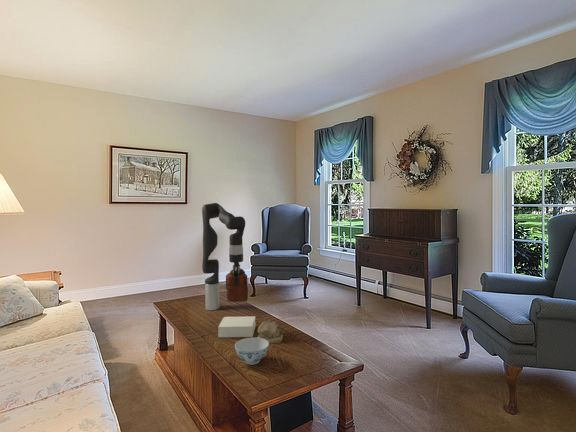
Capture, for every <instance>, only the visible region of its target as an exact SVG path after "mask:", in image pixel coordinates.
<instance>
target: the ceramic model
mask: <svg viewBox="0 0 576 432" xmlns="http://www.w3.org/2000/svg"><path fill="white" fill-rule="evenodd" d="M280 332H281V331H280V326H279V324H278V323H276V322H275V321H271V319H267V320H263V321H262V322H261V323H260V325H259V326H258V327H257V333H258V334H257V337H256V338H263V339H265V340H267V341H268V342H269V344H278V343H281V342H282V341H283V337H284V335H283V334H282V333H281V334H280Z"/></svg>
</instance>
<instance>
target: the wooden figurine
mask: <svg viewBox="0 0 576 432" xmlns="http://www.w3.org/2000/svg"><path fill="white" fill-rule="evenodd" d="M238 271H239V268H238ZM235 275H237V274H235ZM238 280H239V284H238V285H234V274H233V268H232V269H230V271H229V273H227V274H226V275H225V289H226V301H227V302H228V303H236V302H237V303H239V302H248V298H249V297H248V296H249V288H248V275H247V273H246V271H245V270H244V269H243V268H241V267H240V273H239V278H238Z"/></svg>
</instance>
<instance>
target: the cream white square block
mask: <svg viewBox="0 0 576 432" xmlns="http://www.w3.org/2000/svg"><path fill="white" fill-rule="evenodd" d="M256 322H257V321H256V316H255V315H254V316H250V315H249V316H224V317H223V318H222V320H221V321H220V323H219V325H218V327H217V329H218V331H217V336H218V337H217V338H254V334H255V329H256V327H257V324H256Z"/></svg>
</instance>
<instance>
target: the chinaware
mask: <svg viewBox="0 0 576 432" xmlns="http://www.w3.org/2000/svg"><path fill="white" fill-rule="evenodd" d="M269 347H270V343H269V342H268V341H267V340H265V339H263V338H257V337H244V338H243V339H239V340H238V341H237V342H235V344H234V348H235V352H236V354H237V356H238V357H239V358H240V359H241V360H242V361H243V362H244V363H245V364H247V365H254V366H255V365H257V364H258V363H260V361H261V360H262V359H264V357H265V356H266V354H267V353H268V349H269Z"/></svg>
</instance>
